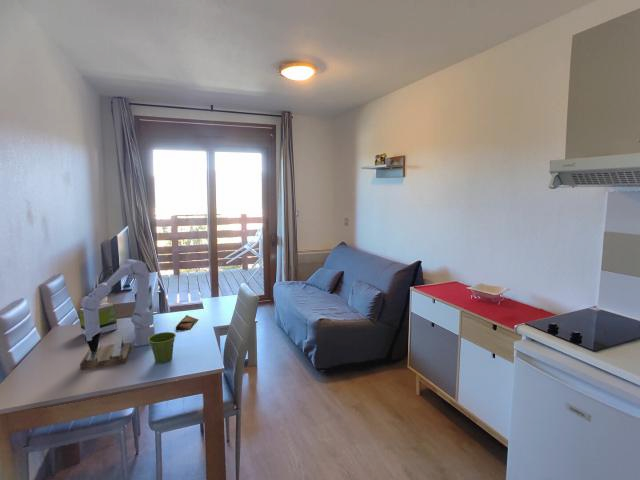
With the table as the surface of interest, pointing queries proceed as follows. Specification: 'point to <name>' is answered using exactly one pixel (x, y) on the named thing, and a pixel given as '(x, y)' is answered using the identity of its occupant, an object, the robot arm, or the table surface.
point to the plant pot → (162, 346)
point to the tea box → (103, 317)
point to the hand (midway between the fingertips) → (94, 349)
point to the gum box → (150, 304)
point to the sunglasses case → (186, 323)
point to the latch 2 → (117, 346)
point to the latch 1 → (93, 354)
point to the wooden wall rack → (106, 357)
